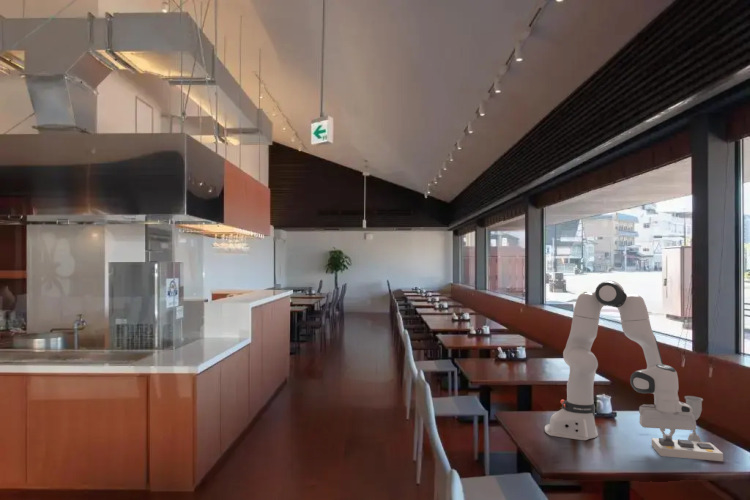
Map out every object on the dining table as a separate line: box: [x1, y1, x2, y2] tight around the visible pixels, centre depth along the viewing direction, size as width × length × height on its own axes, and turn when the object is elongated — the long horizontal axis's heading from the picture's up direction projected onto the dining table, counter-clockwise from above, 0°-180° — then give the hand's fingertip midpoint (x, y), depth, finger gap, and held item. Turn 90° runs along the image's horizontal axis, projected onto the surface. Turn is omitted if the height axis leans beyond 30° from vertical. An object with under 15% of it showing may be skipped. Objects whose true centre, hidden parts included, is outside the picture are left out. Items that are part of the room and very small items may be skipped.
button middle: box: [677, 438, 694, 448], centre depth 202 cm, size 4×4×2 cm
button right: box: [697, 443, 714, 450], centre depth 200 cm, size 4×4×2 cm
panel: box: [651, 437, 724, 462], centre depth 202 cm, size 22×12×3 cm, turn 76°
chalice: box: [684, 395, 704, 442], centre depth 217 cm, size 7×7×18 cm
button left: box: [658, 437, 674, 446], centre depth 204 cm, size 4×4×2 cm
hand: (667, 439), depth 204 cm, fingers closed
